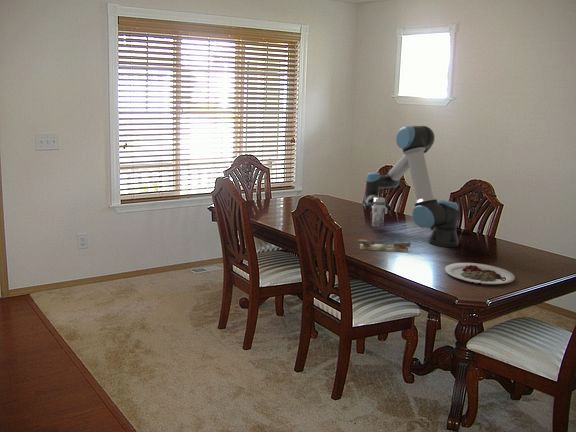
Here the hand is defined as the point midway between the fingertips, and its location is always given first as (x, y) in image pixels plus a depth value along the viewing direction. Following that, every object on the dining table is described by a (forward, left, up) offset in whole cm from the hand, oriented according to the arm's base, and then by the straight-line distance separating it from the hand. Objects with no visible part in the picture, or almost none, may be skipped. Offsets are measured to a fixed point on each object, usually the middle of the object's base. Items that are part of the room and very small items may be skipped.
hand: (380, 210), depth 321 cm
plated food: (-53, +35, -18) cm, 66 cm away
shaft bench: (-5, +10, -17) cm, 21 cm away
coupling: (+2, -5, -9) cm, 10 cm away
